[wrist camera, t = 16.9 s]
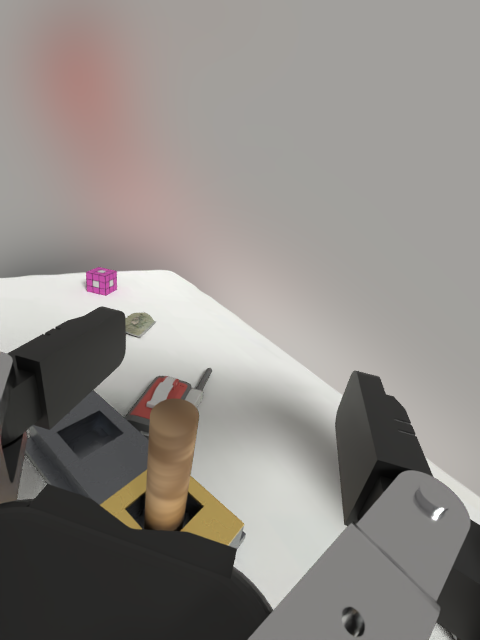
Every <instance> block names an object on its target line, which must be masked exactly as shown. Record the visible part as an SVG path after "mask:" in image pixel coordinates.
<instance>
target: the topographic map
mask: <svg viewBox="0 0 480 640" xmlns="http://www.w3.org/2000/svg"><path fill="white" fill-rule="evenodd" d="M125 322H126V333H128V334H131V335H134V336H137V337H141V336H142V335H143V334H144V333H145V332H146V331H147V330H148V329H150V328H151V327H152V325H153V324H155V323H156V322H155V321H154V320H153V319H152V317H151V316H150V315H148V314H147V313H133V314H131V315H130V316H128V318H125Z"/></svg>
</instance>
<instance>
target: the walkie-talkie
mask: <svg viewBox="0 0 480 640" xmlns="http://www.w3.org/2000/svg"><path fill="white" fill-rule="evenodd" d="M211 372H212V369H211V368H208V369H207V370H206V372H205V374H204V376H203V378H202V379H201V381H200V383H199V385H198V387H196V389H193V388H191V385H190V384H189V383H187V382H184V381H181V380H179V379H176V378H172V377H168V376H158V377H156V378H155V379H154V381H153V382H152V383H151V384H150V386H149V387H148V388H147V390H146V391H145V392H144V394H143V395H142V396H141V398H139V400H138V402H136V404H135V405H134V407H132V409H131V410H130V412H128V414H127V415H126V417H125V419H126V420H127V421H128V422H129V423H130V424H131V425H133V426H134V427H135V428H136V429H137V430H138V431H139V432H140V433H141V434H143V435H144V436H145V437H146V438H147V439H148V440H149V424H150V413H151V410H152V409H153V407H154V406H155V405H156V404H158V403H159V402H161V401H164V400H167V399H183V400H186V401H188V402H190V403H192V404H193V405H194V406H195V407H196V408H197V407H198V405H199V403H200V402H201V401H202V398H203V388H204V386H205V384H206V382H207V380H208V378H209V376H210V374H211Z"/></svg>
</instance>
